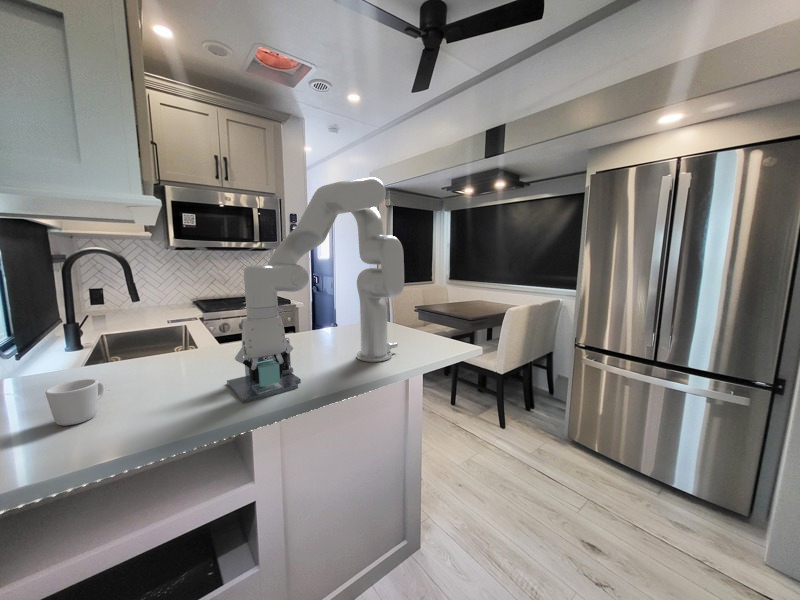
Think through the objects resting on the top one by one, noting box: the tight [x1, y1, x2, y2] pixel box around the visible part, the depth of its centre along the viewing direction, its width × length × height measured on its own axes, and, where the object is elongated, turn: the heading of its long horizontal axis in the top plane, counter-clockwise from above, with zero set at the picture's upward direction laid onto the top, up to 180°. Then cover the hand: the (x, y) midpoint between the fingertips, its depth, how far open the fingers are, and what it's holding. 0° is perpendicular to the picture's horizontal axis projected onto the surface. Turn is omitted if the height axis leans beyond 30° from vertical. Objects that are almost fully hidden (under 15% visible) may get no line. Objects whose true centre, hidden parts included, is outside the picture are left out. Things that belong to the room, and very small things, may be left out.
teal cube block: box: [257, 359, 280, 387], centre depth 84 cm, size 5×5×5 cm
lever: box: [282, 337, 294, 375], centre depth 94 cm, size 3×3×10 cm
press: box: [226, 318, 302, 404], centre depth 87 cm, size 16×16×18 cm
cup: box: [45, 378, 104, 427], centre depth 71 cm, size 11×8×8 cm
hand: (267, 379), depth 84 cm, fingers closed on teal cube block, 4 cm apart
